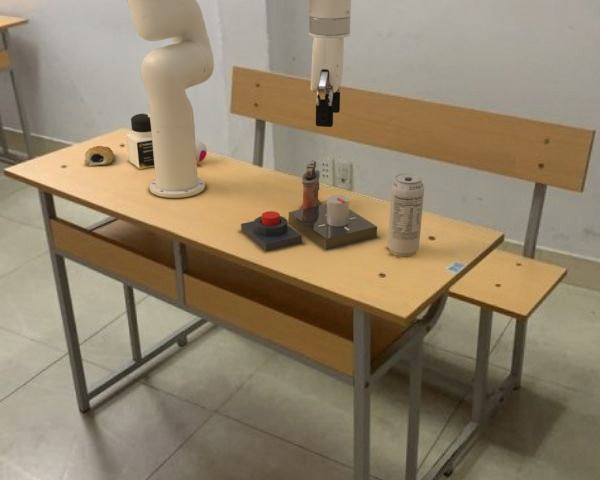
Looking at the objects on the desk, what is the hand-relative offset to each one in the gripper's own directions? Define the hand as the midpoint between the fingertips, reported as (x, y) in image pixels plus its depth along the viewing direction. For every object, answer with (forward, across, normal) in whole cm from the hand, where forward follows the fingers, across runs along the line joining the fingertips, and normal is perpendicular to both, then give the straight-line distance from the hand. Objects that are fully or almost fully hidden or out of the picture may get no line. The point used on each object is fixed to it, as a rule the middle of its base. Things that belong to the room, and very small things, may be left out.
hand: (328, 118), depth 150 cm
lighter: (+23, -9, -5) cm, 25 cm away
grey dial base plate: (+22, +2, +1) cm, 23 cm away
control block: (+22, +8, -10) cm, 26 cm away
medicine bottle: (+22, -30, -50) cm, 62 cm away
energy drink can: (+23, +9, +16) cm, 29 cm away
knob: (+20, +3, +3) cm, 20 cm away
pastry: (+22, -29, -62) cm, 72 cm away
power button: (+19, +8, -10) cm, 23 cm away
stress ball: (+22, -32, -38) cm, 54 cm away
